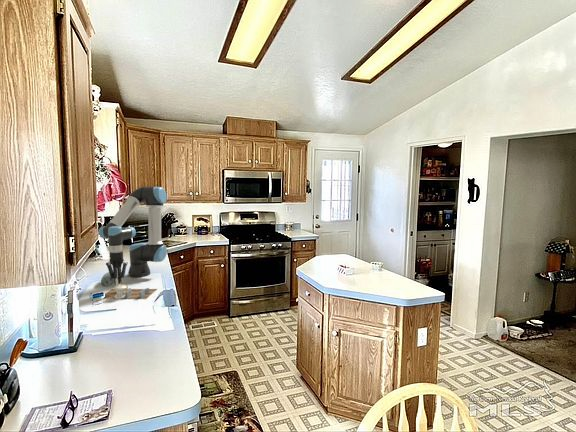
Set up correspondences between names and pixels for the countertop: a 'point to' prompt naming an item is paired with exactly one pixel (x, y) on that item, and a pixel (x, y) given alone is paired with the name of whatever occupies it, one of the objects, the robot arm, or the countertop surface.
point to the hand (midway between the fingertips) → (118, 288)
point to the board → (134, 294)
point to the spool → (107, 280)
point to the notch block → (141, 293)
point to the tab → (126, 288)
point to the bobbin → (120, 292)
